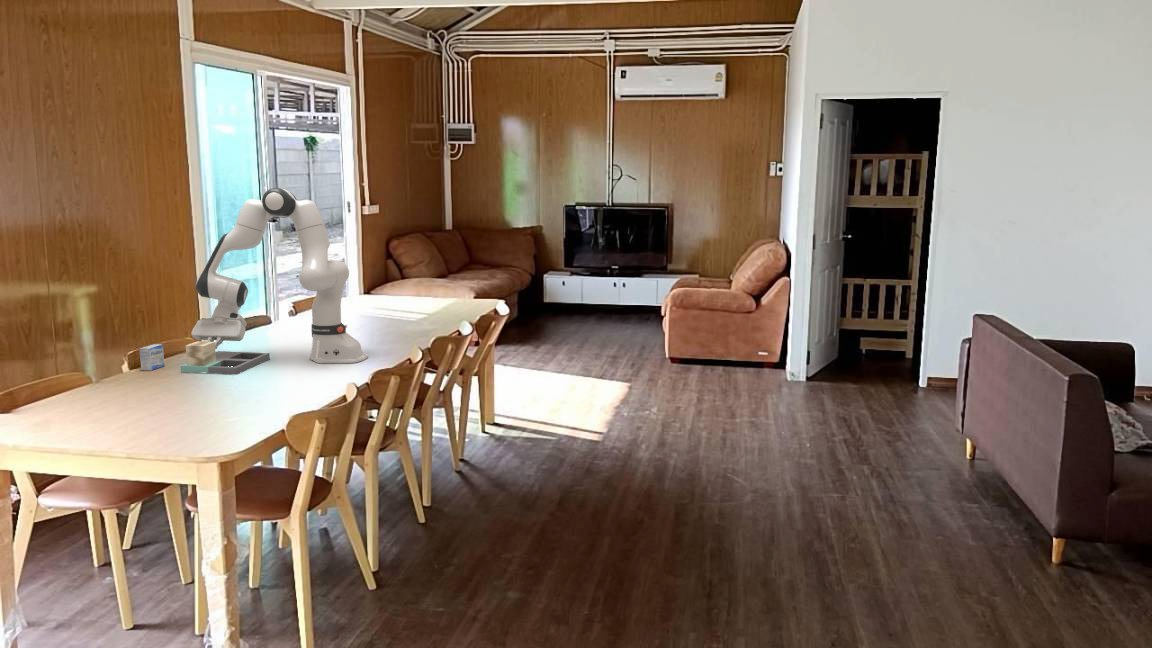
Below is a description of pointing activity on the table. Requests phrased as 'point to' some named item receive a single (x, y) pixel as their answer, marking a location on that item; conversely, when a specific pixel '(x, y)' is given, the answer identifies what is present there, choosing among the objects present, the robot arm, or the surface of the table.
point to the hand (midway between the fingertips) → (211, 348)
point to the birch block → (200, 353)
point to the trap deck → (229, 362)
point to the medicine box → (152, 357)
